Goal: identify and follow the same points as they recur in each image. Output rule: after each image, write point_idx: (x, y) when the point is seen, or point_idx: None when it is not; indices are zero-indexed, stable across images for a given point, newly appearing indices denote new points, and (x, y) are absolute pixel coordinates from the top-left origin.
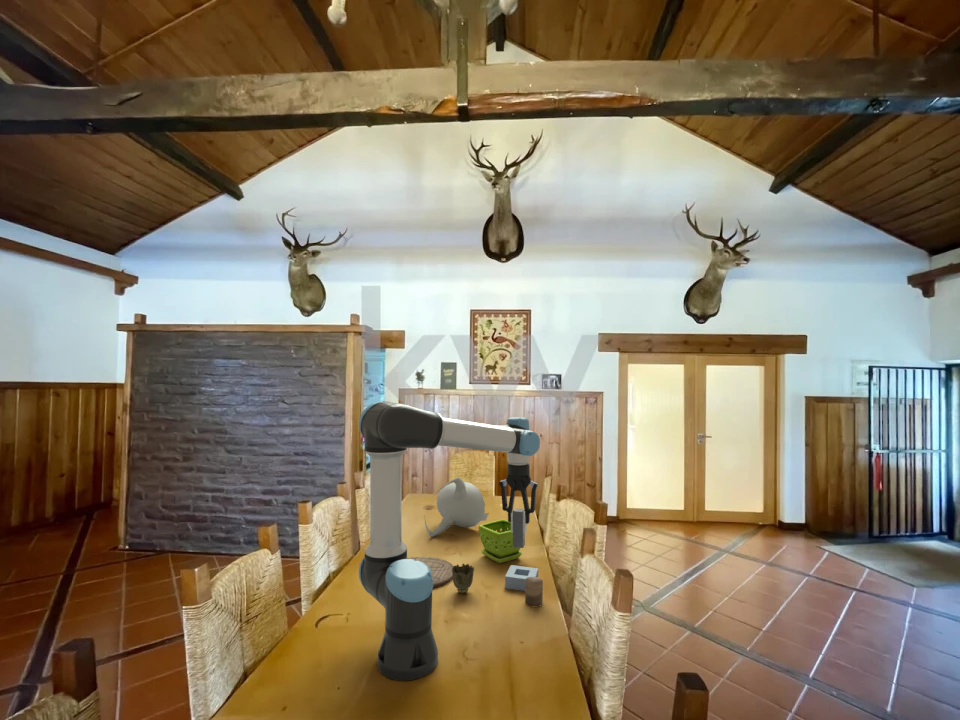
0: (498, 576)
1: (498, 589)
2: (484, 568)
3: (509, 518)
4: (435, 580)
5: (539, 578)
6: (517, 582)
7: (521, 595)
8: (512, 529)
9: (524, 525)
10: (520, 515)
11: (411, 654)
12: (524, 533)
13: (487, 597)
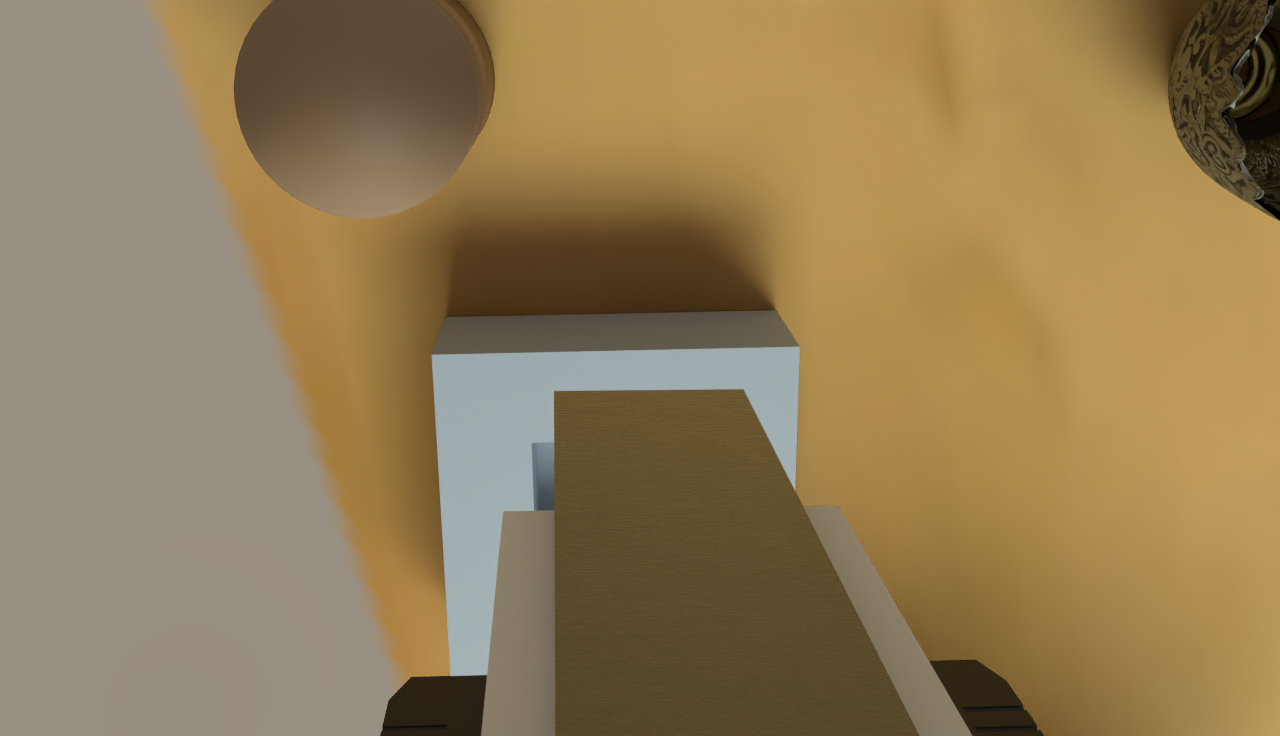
0: (897, 561)
1: (840, 262)
2: (1079, 695)
3: (984, 713)
4: None
5: (298, 185)
6: (638, 334)
7: (564, 201)
8: (820, 538)
9: (512, 603)
10: (636, 729)
11: None
12: (520, 519)
13: (925, 34)
